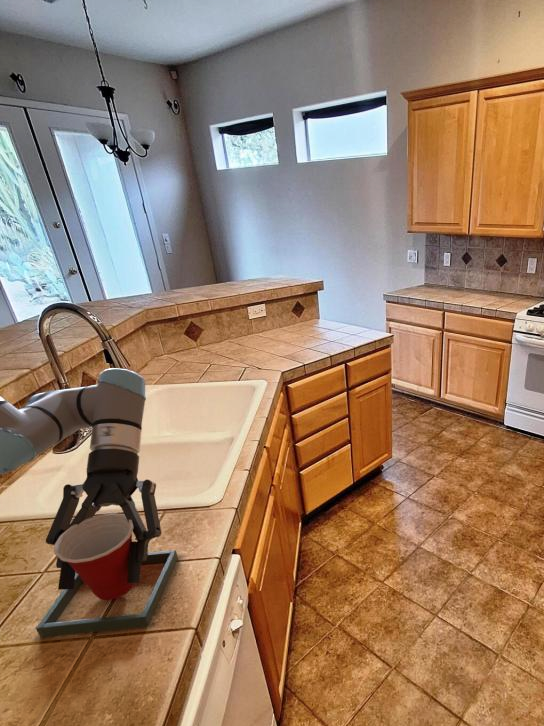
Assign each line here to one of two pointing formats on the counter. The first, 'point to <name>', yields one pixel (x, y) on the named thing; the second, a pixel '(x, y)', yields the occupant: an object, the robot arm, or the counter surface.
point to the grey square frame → (52, 628)
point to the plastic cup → (99, 553)
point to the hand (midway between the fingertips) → (99, 586)
